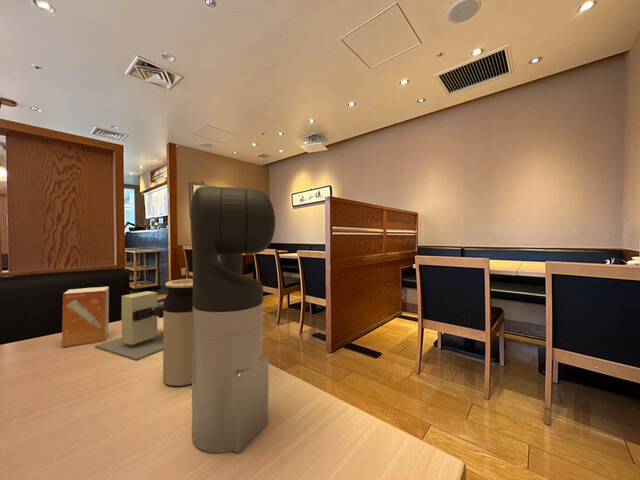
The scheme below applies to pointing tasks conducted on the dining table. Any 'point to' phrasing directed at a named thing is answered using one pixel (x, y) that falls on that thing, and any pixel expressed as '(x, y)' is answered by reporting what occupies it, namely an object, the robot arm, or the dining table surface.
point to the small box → (85, 316)
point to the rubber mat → (133, 347)
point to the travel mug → (178, 333)
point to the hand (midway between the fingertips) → (127, 315)
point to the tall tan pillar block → (141, 328)
